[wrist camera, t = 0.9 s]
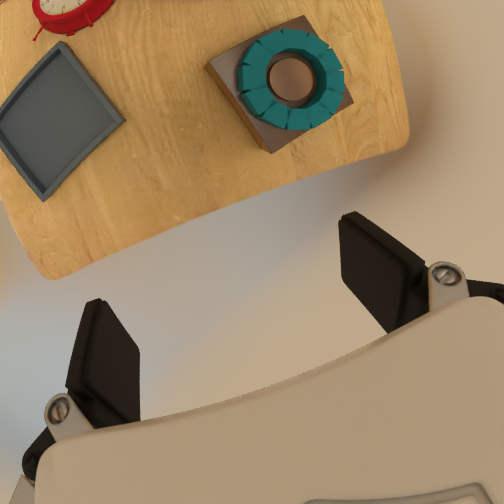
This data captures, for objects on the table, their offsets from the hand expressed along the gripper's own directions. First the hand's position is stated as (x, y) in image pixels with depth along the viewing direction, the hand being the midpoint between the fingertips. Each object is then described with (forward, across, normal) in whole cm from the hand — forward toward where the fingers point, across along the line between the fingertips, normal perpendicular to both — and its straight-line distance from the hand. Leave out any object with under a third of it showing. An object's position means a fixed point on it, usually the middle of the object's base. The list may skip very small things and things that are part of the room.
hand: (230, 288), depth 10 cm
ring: (+20, -12, -7) cm, 24 cm away
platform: (+24, -12, -7) cm, 28 cm away
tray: (+24, +14, -11) cm, 30 cm away
